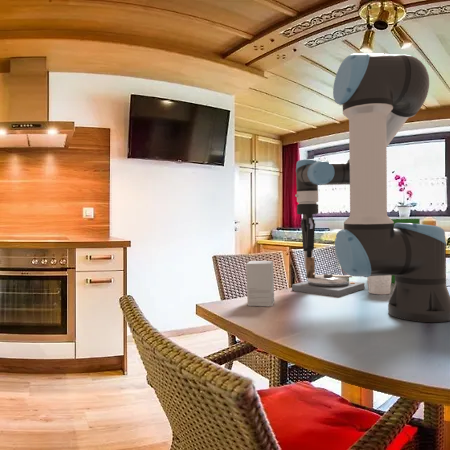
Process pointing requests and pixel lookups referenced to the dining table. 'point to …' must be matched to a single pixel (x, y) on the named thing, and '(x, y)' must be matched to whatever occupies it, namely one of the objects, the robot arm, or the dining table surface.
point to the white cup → (379, 284)
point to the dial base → (329, 288)
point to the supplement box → (260, 283)
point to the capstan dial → (323, 276)
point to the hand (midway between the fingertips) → (308, 268)
